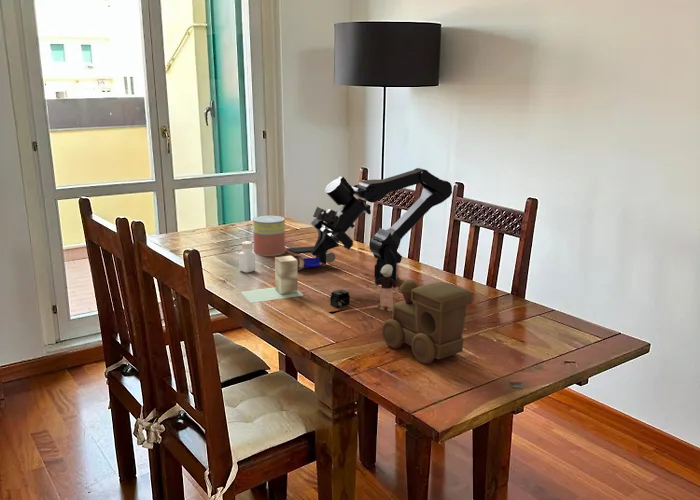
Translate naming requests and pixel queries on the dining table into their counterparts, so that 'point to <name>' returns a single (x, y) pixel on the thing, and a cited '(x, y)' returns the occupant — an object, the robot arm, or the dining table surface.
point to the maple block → (286, 275)
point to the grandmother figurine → (386, 288)
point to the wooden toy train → (428, 320)
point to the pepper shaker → (247, 258)
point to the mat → (266, 295)
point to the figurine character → (311, 262)
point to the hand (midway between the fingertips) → (312, 254)
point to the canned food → (269, 235)
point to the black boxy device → (339, 299)
